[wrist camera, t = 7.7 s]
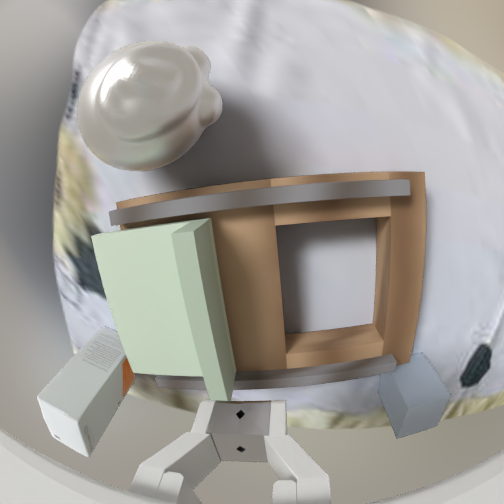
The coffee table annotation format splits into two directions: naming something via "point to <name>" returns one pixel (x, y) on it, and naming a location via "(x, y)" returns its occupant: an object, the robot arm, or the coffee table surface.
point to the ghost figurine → (147, 104)
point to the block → (413, 396)
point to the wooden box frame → (268, 274)
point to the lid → (169, 301)
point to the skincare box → (87, 392)
